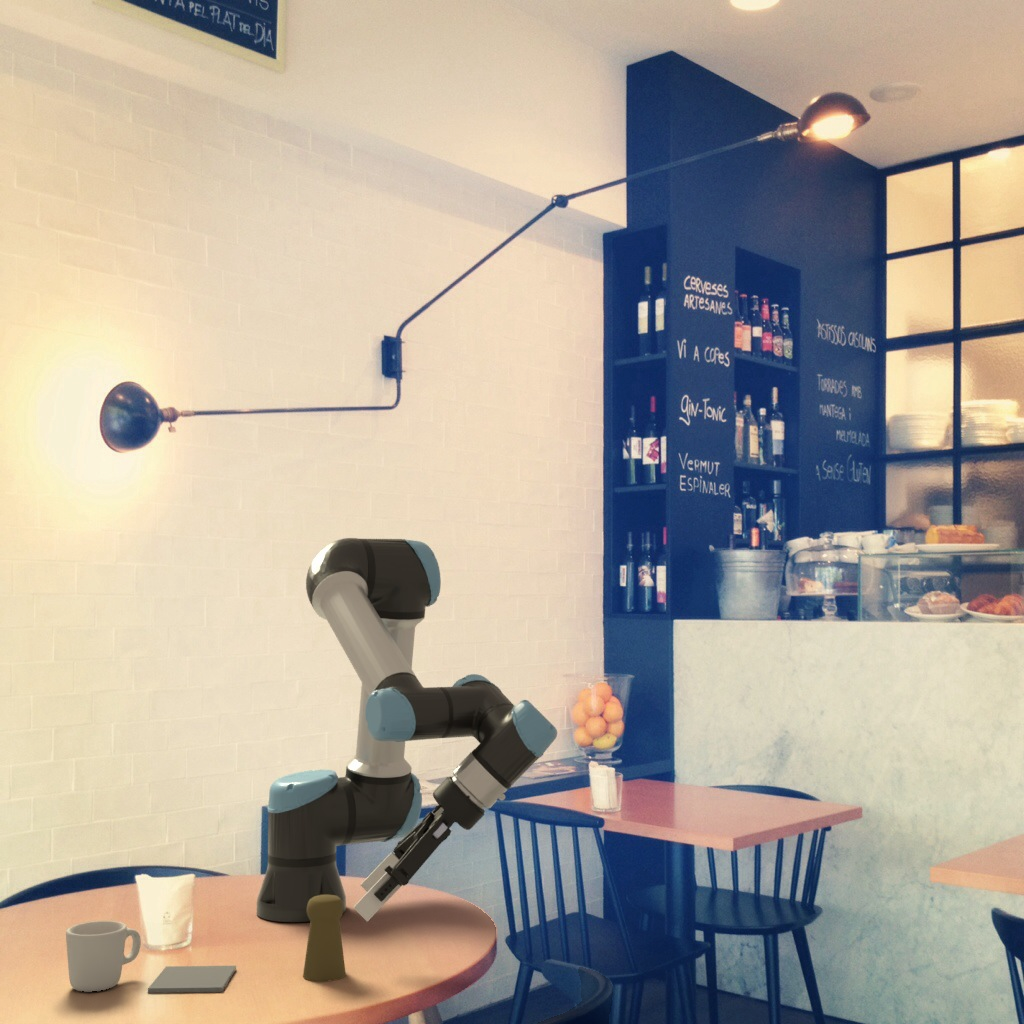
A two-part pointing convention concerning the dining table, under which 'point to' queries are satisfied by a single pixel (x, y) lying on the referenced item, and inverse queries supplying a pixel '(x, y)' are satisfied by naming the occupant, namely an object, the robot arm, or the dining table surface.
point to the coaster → (192, 979)
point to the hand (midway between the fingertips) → (363, 902)
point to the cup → (98, 954)
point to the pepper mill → (324, 940)
